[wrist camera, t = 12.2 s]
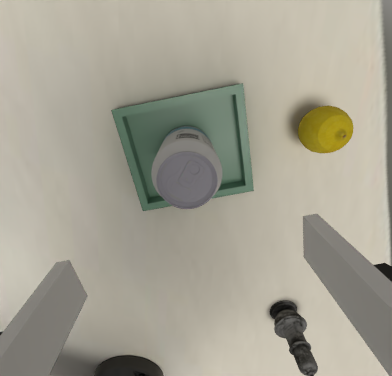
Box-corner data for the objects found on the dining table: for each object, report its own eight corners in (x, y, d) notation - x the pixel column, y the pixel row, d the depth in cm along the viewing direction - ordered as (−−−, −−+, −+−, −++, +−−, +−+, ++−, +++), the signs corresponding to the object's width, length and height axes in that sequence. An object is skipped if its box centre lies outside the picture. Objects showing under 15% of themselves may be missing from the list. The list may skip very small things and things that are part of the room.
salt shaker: (278, 295, 44) (309, 364, 33) (304, 304, 45) (342, 373, 34) (262, 316, 46) (286, 387, 35) (287, 323, 47) (318, 395, 36)
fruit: (313, 95, 30) (354, 96, 23) (336, 125, 32) (380, 135, 25) (280, 125, 32) (308, 136, 24) (303, 153, 33) (336, 171, 26)
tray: (145, 203, 36) (142, 211, 33) (117, 108, 30) (111, 110, 28) (249, 184, 35) (253, 190, 33) (238, 84, 30) (243, 83, 27)
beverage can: (153, 158, 32) (135, 193, 21) (178, 114, 30) (173, 128, 19) (194, 182, 34) (198, 226, 23) (221, 142, 32) (240, 169, 21)
